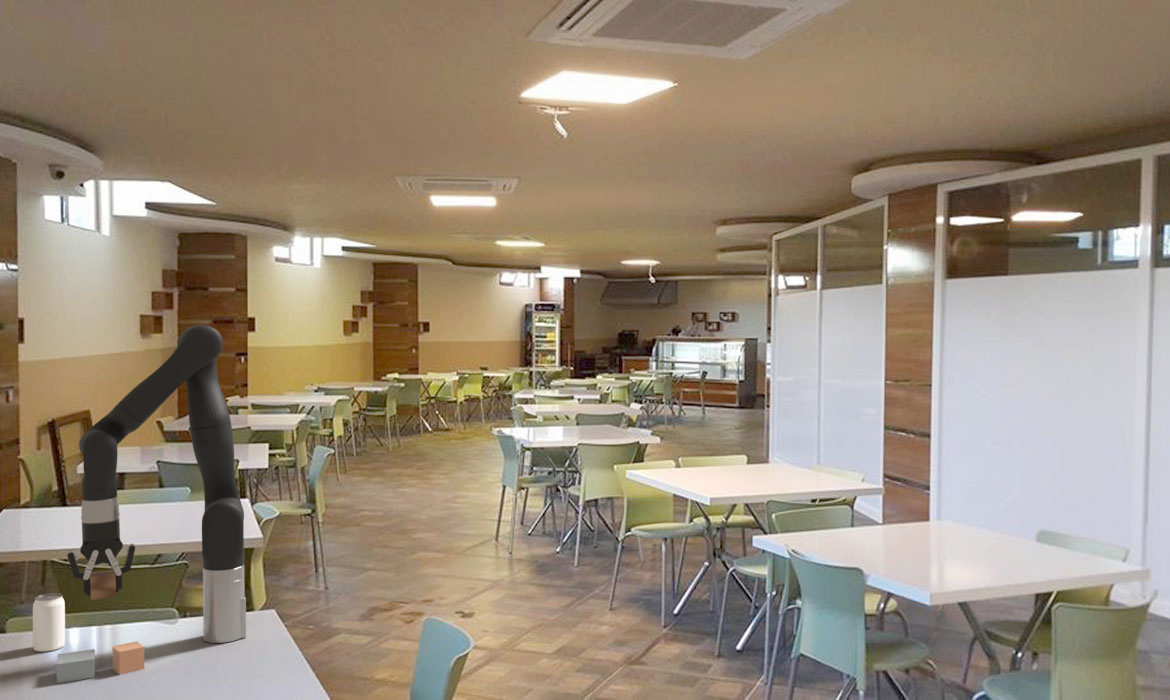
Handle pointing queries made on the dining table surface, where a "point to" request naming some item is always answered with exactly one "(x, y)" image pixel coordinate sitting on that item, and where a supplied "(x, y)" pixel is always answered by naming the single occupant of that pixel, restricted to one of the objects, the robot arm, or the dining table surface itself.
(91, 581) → the walnut cube
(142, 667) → the terracotta cube
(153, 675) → the dining table surface
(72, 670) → the base block
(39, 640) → the can
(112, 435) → the robot arm
